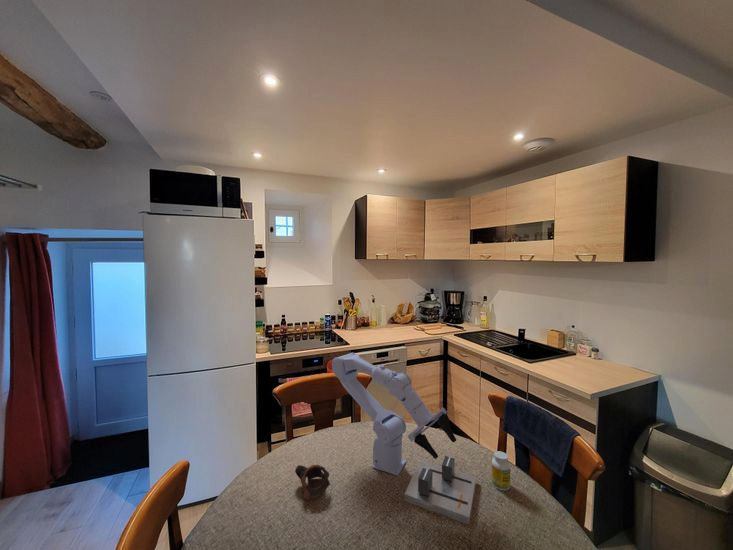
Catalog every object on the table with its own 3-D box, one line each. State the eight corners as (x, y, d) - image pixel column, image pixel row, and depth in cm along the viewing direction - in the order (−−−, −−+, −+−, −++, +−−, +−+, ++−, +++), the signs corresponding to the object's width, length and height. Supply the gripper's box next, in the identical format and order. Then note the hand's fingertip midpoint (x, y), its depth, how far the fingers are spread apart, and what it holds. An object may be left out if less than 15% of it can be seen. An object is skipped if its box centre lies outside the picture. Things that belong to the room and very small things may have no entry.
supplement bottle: (497, 476, 96) (498, 447, 96) (513, 486, 92) (514, 456, 92) (487, 483, 93) (488, 453, 93) (503, 494, 89) (504, 462, 89)
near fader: (418, 492, 86) (418, 477, 86) (422, 481, 91) (422, 467, 91) (428, 495, 85) (428, 481, 85) (432, 484, 89) (432, 470, 89)
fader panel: (404, 500, 86) (404, 493, 86) (420, 465, 101) (420, 459, 101) (469, 524, 78) (469, 517, 78) (476, 482, 93) (476, 476, 93)
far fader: (441, 478, 92) (442, 464, 92) (445, 468, 97) (445, 455, 96) (451, 481, 91) (451, 467, 91) (454, 471, 95) (454, 458, 95)
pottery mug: (334, 481, 94) (335, 468, 90) (320, 514, 87) (320, 501, 82) (302, 464, 98) (301, 451, 93) (285, 494, 90) (283, 481, 86)
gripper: (401, 418, 88) (432, 463, 82) (436, 392, 94) (467, 431, 88) (397, 424, 93) (425, 466, 87) (430, 398, 100) (459, 436, 93)
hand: (445, 449), depth 88 cm, fingers open, 7 cm apart
